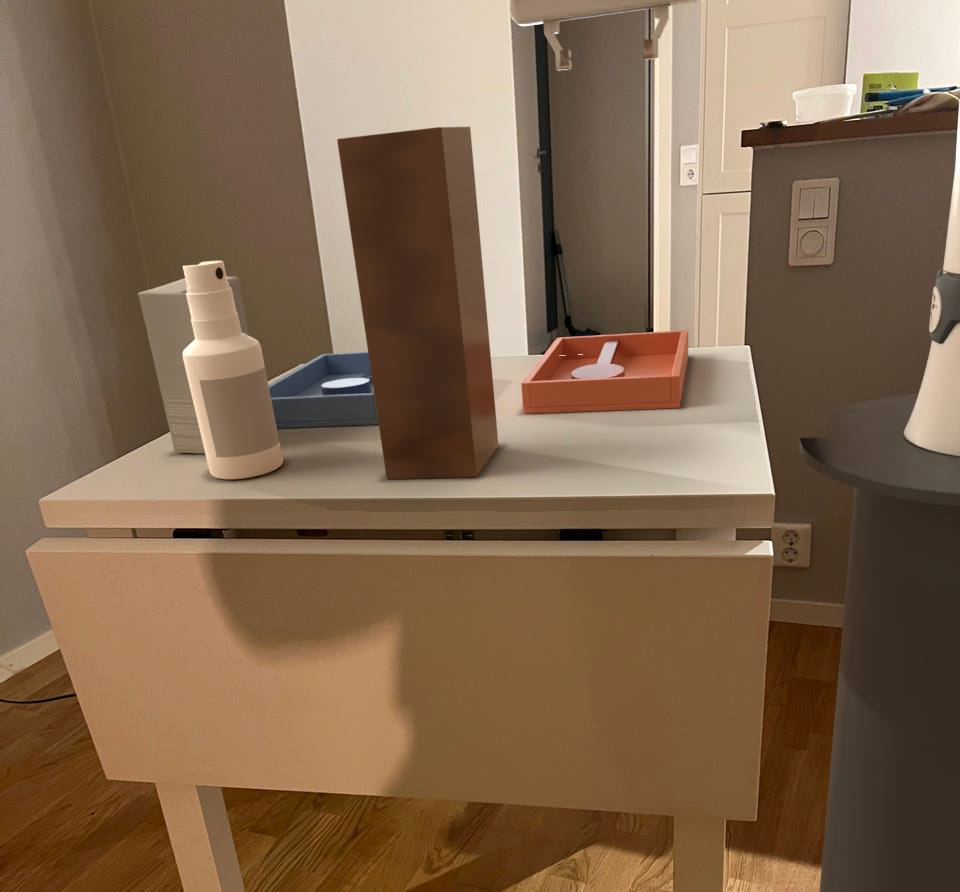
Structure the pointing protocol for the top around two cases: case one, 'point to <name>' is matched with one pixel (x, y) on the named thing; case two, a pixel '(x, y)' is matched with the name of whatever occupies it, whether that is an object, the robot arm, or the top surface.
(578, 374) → the terracotta spoon
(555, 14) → the robot arm
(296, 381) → the blue tray
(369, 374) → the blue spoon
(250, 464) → the spray bottle
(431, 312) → the tall brown block
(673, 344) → the terracotta tray
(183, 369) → the cosmetic box
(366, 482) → the top surface
